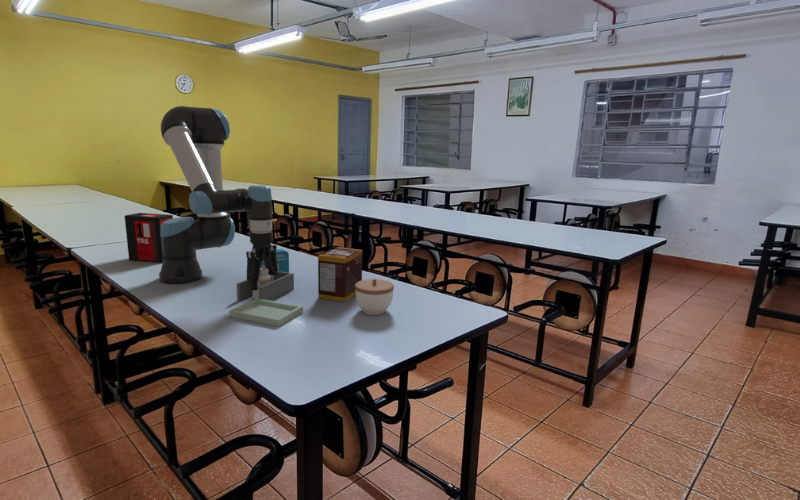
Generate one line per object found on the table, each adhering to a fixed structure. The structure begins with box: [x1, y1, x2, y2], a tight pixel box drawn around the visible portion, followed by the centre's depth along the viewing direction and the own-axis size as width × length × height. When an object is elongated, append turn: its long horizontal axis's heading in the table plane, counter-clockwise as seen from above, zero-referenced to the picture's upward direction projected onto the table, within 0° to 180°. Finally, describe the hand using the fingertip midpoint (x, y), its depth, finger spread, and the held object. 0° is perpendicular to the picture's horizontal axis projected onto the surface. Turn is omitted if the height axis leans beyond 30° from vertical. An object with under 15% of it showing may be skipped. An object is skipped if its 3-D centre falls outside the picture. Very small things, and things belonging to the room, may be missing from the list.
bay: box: [236, 271, 295, 301], centre depth 159 cm, size 10×19×6 cm, turn 160°
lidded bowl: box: [354, 278, 395, 316], centre depth 147 cm, size 13×13×11 cm
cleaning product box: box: [124, 212, 174, 264], centre depth 199 cm, size 16×9×20 cm, turn 80°
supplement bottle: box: [258, 268, 271, 286], centre depth 157 cm, size 5×5×10 cm
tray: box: [229, 298, 304, 327], centre depth 141 cm, size 18×13×2 cm
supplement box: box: [317, 246, 363, 303], centre depth 162 cm, size 10×15×16 cm
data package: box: [256, 248, 290, 273], centre depth 175 cm, size 12×4×12 cm, turn 129°
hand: (263, 295), depth 158 cm, fingers open, 7 cm apart
